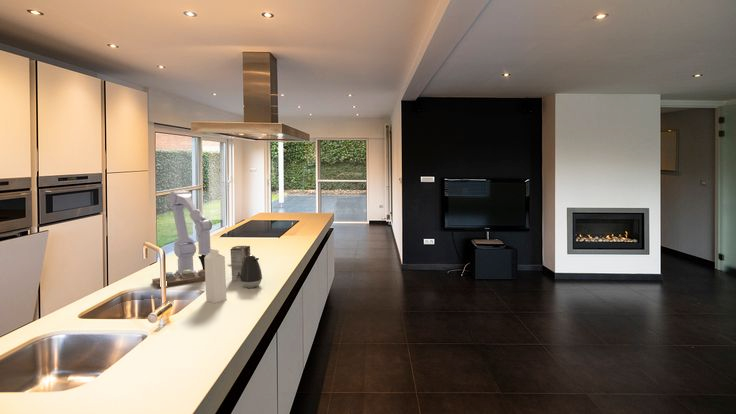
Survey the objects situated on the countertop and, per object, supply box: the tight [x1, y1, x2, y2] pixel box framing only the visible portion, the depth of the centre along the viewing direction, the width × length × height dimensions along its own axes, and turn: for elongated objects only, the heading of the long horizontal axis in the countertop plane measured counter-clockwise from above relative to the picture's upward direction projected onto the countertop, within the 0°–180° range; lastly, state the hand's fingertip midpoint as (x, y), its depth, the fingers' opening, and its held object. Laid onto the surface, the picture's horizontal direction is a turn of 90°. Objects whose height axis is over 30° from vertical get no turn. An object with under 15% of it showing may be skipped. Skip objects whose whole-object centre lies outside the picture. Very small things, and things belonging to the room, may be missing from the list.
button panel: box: [151, 269, 205, 289], centre depth 221 cm, size 12×30×4 cm, turn 127°
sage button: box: [183, 270, 192, 275], centre depth 221 cm, size 4×4×2 cm
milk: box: [204, 248, 227, 304], centre depth 187 cm, size 6×6×22 cm
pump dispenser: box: [240, 254, 263, 289], centre depth 208 cm, size 10×10×15 cm
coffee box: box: [230, 245, 251, 282], centre depth 224 cm, size 9×6×16 cm
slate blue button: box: [165, 271, 174, 278], centre depth 216 cm, size 4×4×2 cm
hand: (205, 269), depth 226 cm, fingers closed, pressing on terracotta button
